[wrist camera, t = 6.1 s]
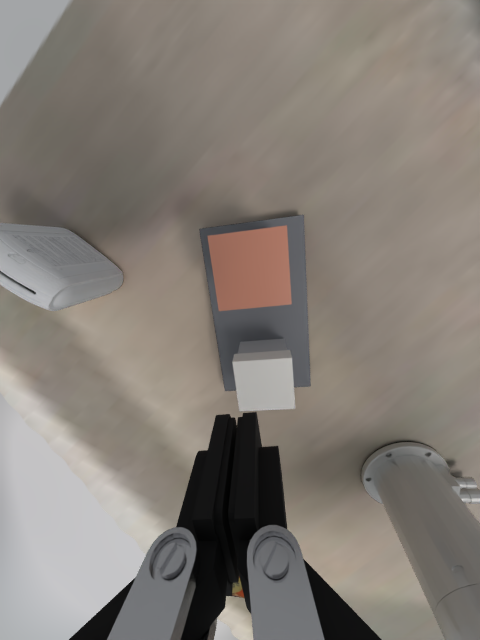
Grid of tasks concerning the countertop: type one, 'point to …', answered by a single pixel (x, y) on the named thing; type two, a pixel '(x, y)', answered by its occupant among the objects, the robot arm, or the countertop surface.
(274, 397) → the white plunger
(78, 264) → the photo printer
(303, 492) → the countertop surface
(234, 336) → the block
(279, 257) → the salmon pink block
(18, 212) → the countertop surface
